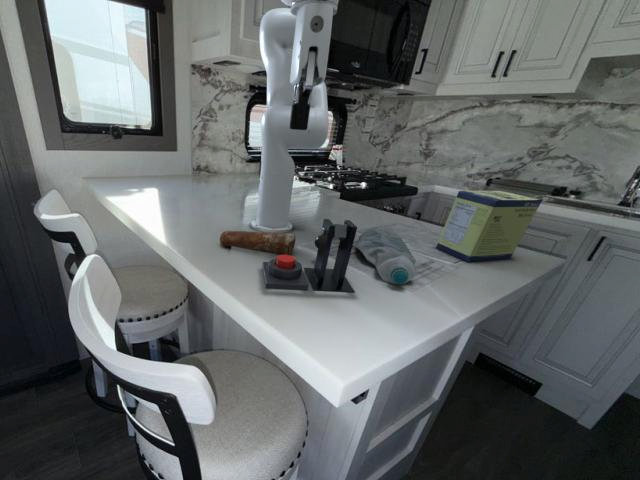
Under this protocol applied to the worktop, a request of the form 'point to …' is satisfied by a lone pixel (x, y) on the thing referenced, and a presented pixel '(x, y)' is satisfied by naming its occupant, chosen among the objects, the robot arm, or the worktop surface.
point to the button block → (284, 276)
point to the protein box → (487, 224)
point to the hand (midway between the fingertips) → (297, 129)
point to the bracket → (335, 277)
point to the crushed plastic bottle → (387, 255)
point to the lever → (335, 233)
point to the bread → (260, 241)
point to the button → (285, 261)
